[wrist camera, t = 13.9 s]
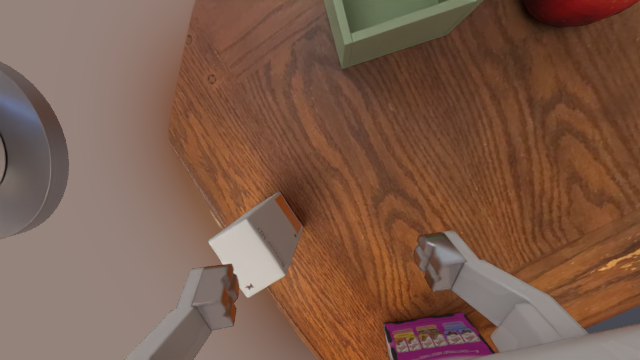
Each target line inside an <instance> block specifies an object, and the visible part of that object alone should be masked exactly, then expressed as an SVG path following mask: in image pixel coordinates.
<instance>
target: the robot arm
mask: <svg viewBox="0 0 640 360" xmlns="http://www.w3.org/2000/svg"><path fill="white" fill-rule="evenodd" d="M5 164H6V157H5V150H4V146H3V142H2V139H1V137H0V182H1V180H2V178H3V175H4V171H5ZM417 242H418V245H417V246H416V247H415V250H414V258H415V261H416V264H417V266H418V267H419V269H420V270H422V271H423V272H425V276H424V278H425V280H426V281H427V283H428V285H429V286H430V288H431V290H432V292H434V291H441V290H448V289H452V291H453V292H454V293H456V294H457V295H458V296H459V297H461V298H462V299H463V300H464V301H466V302H467V303H468V304H469V305H471V306H472V307H473V308H475V309H476V310H477V311H478V312H480V313H481V314H482V315H483V316H485V317H486V318H487V319H488V320H490V321H491V322H492V323H493V324H495V325H496V326H497V328H496V329H495V330H494V331H493V333H492V334H491V340H492V341H493V343H494V344H495V346H496V347H497V349H498V350H499V352H500V353H495V354H491V355H486V356H481V357H476V358H471V359H466V360H640V324H636V325H631V326H626V327H621V328H616V329H612V330H607V331H602V332H597V333H592V334H589V333H587V332H586V330H585V329H584V328H583V327H582V326H580V325H579V324H578V323H577V322H576V321H575V320H574V319H573V318H572V317H571V316H570V315H569V314H568V313H567V312H566V311H565V310H564V309H563V308H562V307H561V306H560V305H559V304H558V303H557V302H556V301H555V300H554V299H553V298H552V297H551V296H549V295H548V294H546V293H544V292H542V291H540V290H538V289H536V288H535V287H533V286H531V285H529V284H527V283H525V282H523V281H522V280H520V279H518V278H516V277H514V276H512V275H510V274H509V273H507V272H505V271H503V270H501V269H499V268H497V267H496V266H494V265H492V264H490V263H488V262H486V261H484V260H479V259H478V258H477V256H476V255H475V254H474V253H473V252H472V251H471V249H470V248H469V247H468V246H467V245H466V244H465V242H464V241H463V240H462V239H461V238H460V237H459V236H458V234H457V233H456V232H454V231H453V230H452V231H445V232H437V233H431V234H425V235H420V236H419V237H418V239H417ZM233 271H234V267H233V265H232V264H224V265H217V266H208V267H200V268H193V269H192V270H191V271H190V272H189V274H188V277H187V280H186V283H185V285H184V288H183V291H182V293H181V296H180V299H179V302H178V304H177V307H176V310H172V311H171V312H169V314H168V315H167V316H166V317H165V318H164V319H163V320H162V321H161V322H160V323H159V324H158V325H157V326H156V327H155V328H154V329H153V330H152V331H151V332H150V333H149V334H148V335H147V337H145V339H144V340H143V341H142V342H141V343H140V344H139V345H138V346H137V347H136V348H135V349H134V350H133V351H132V352H131V353H130V354H129V355H128V356H127V357H126V358H125V359H124V360H194V358H195V357H196V355H197V354H198V352H199V351H200V349H201V347H202V346H203V345H204V343H205V342H206V340H207V338H208V337H209V335H210V334H211V331H212V330H217V329H222V328H227V327H232V326H234V321H235V315H236V307H235V305H234V302H235V301H236V300H237V299H238V295H239V281H238V277H237V275H236V274H234V273H233Z"/></svg>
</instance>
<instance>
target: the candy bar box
mask: <svg viewBox="0 0 640 360" xmlns="http://www.w3.org/2000/svg"><path fill="white" fill-rule="evenodd" d="M384 330H385V336H386V342H387V347H388V353H389V357H390V360H466V359H471V358H476V357H481V356H486V355H491V354H495V352H494V351H493V350H492V349H491V347H490V346H489V345H488V344H487V342H486V341H485V340H484V338H483V337H482V336H481V334H480V333H479V332H478V331H477V329H476V328H475V327H474V325H473V324H472V323H471V322H470V320H469V319H468V318H467V317H466V315H465V314H464V313H455V314H448V315H442V316H435V317H428V318H422V319H415V320H409V321H403V322H396V323H388V324H384Z"/></svg>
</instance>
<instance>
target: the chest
mask: <svg viewBox="0 0 640 360" xmlns="http://www.w3.org/2000/svg"><path fill="white" fill-rule="evenodd" d="M323 1H324V4H325V8H326V12H327V16H328V20H329V23H330V27H331V31H332V35H333V38H334V42H335V46H336V50H337V53H338V57H339V61H340V65H341V69H344V68H347V67H350V66H353V65H356V64H360V63H363V62H366V61H369V60H372V59H375V58H378V57H381V56H384V55H387V54H390V53H393V52H396V51H399V50H402V49H406V48H409V47H412V46H415V45H418V44H421V43H424V42H427V41H430V40H433V39H436V38H439V37H442V36H445V35H448V34H449V33H450V32H451V31H452V30H453V29H454V28H455V27H456V26H457V25H458V24H460V23H461V22H462V21H463V20H464V19H465V18H466V17H467V16H468V15H469V14H470V13H471V12H472V11H473V10H474V9H475V8H476V7H477V6H478V5H479V4H480V3H481V2H483V1H484V0H323Z"/></svg>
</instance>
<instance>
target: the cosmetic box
mask: <svg viewBox="0 0 640 360" xmlns="http://www.w3.org/2000/svg"><path fill="white" fill-rule="evenodd" d="M302 231H303V226H302V224H301V223H300V222H299V220H298V219H297V217H296V216H295V214H294V213H293V211H292V210H291V208H290V207H289V205H288V203H287V202H286V200H285V199H284V197H283V195H282V194H281V192H278V193H276V194H274V195H273V196H271V197H269V198H268V199H266V200H264V201H263V202H261V203H259V204H258V205H256V206H255V207H253V208H252V209H251V210H249V211H248V212H247V213H245V214H244V215H243V216H241V217H240V218H239V219H237V220H236V221H235V222H233V223H232V224H231V225H229V226H228V227H227V228H225V229H224V230H223V231H221V232H220V233H219V234H217V235H216V236H214V237H213V238H211V239H210V240H209V241H208V242H209V245H210V246H211V247H212V249H213V250H214V252H215V253H216V254H217V256H218V257H219V259H220V260H221V262H222V264H223V265H224V264H232V265H233V267H234V271H233V273H234V274H236V275H237V277H238V281H239V287H240V289H241V290H242V291H243V293H244V294H245V296H246V297H247V298H249V297H251V296H252V295H254V294H256V293H257V292H259V291H261V290H262V289H264V288H266V287H267V286H269V285H270V284H272V283H274V282H276V281H277V280H279V279H281V278H282V277H284V276H285V275H286V273H287V271H288V268H289V265H290V263H291V260H292V257H293V255H294V252H295V249H296V247H297V244H298V241H299V239H300V236H301V233H302Z"/></svg>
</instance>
